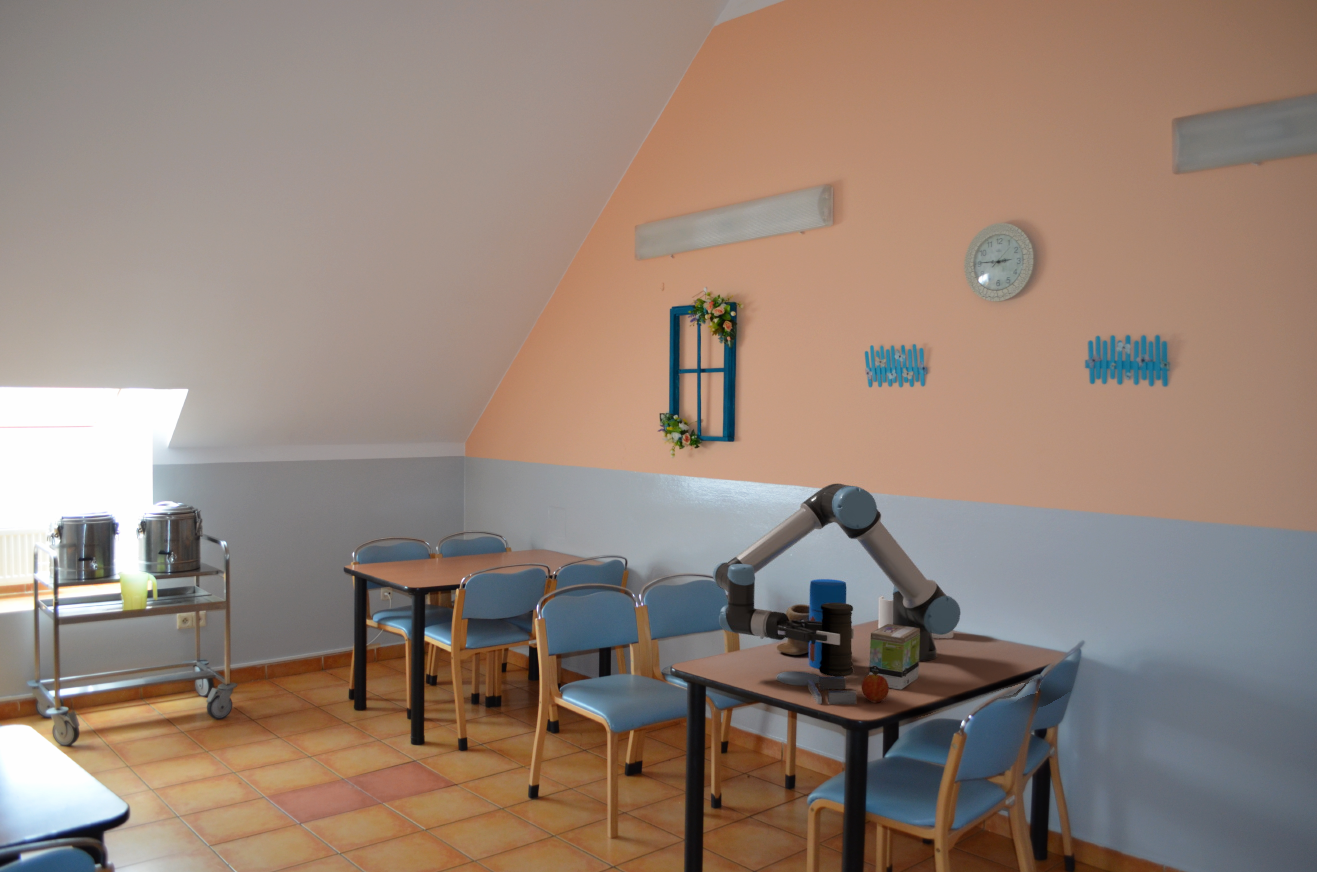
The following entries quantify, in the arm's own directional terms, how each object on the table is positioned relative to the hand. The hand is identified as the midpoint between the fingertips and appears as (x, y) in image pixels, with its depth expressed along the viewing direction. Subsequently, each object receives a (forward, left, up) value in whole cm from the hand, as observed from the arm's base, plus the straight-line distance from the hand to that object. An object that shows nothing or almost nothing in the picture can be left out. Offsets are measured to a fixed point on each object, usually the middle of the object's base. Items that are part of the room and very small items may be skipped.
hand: (846, 636), depth 251 cm
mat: (+10, -17, -16) cm, 25 cm away
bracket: (-39, -73, -17) cm, 84 cm away
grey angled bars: (+3, -2, -16) cm, 17 cm away
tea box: (-17, -16, -17) cm, 29 cm away
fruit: (-7, +3, -17) cm, 18 cm away
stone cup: (+4, -47, -17) cm, 50 cm away
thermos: (-1, -32, -17) cm, 36 cm away
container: (+2, -2, -10) cm, 11 cm away
